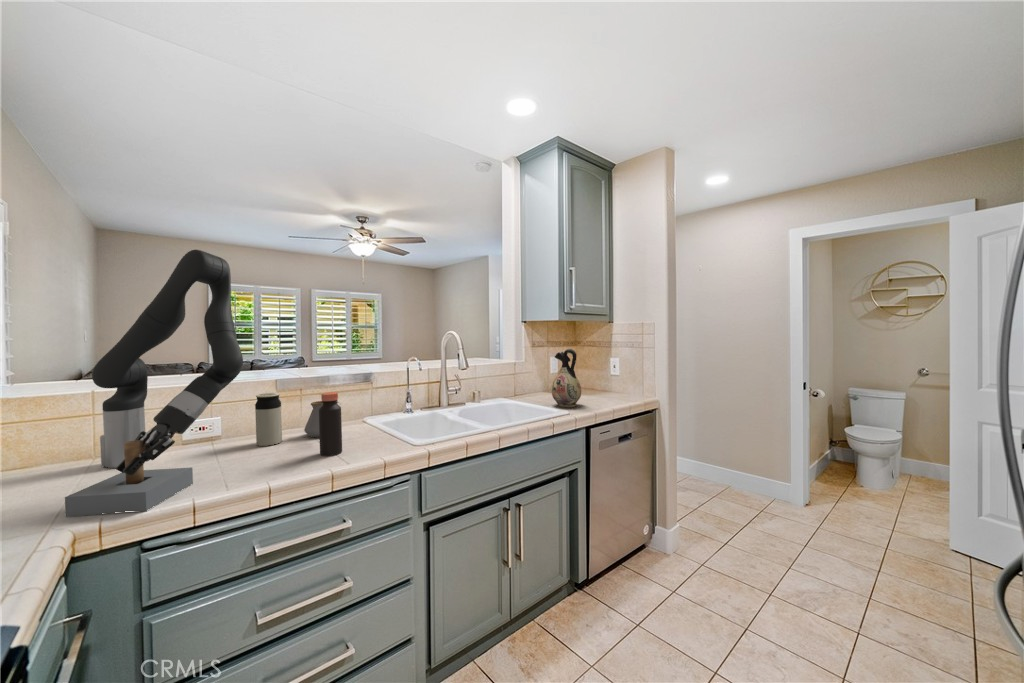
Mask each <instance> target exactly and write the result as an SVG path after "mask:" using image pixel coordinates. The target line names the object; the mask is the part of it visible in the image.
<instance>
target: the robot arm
mask: <svg viewBox="0 0 1024 683" xmlns="http://www.w3.org/2000/svg"><path fill="white" fill-rule="evenodd" d="M231 277H232V275H231V268H230V265H229V263H228V261H227V260H226V259H224V258H223V257H220V256H217V255H215V254H211V253H209V252H207V251H204V250H201V249H191V250H190V251H189V250H188V251H187V252H186V253H185V254H184V255H183V256H182V257H181V259H180V260H179V262H178V263H177V265H176V266H175V268H174V269H173V271H172V273H171V274H170V276H169V277H168V279H167V281H166V283H165V284H164V285H163V286H162V288H161V289H160V290H159V291H158V293H157V295H156V296H155V297H154V298H153V299H152V301H151V302H150V303H149V305H147V306H146V308H144V310H143V311H142V313H140V315H139V316H138V317H137V319H136V320H135V322H134V323H133V324H132V325H131V327H130V328H129V329H128V330H127V331H126V332H125V334H124V335H123V336H122V337H121V338H120V340H119V341H118V342H117V343H116V344H115V345H114V346H113V347H111V348H110V350H109V351H108V352H107V353H106V354H104V355H103V356H102V357H101V358H100V359H99V361H97V363H96V364H95V365H94V367H93V369H92V373H91V378H92V381H93V383H94V385H96V386H98V387H99V388H103V389H116V391H115V393H114V394H113V395H112V396H111V397H110V396H109V398H107V399H106V400H104V401H103V402H102V405H101V407H102V422H103V434H102V435H100V436H99V443H100V444H99V445H100V447H99V448H100V462H101V464H100V466H101V468H103V467H102V466H105V467H104V468H107V467H108V468H107V469H115V470H116V471H117V472H120V473H126V474H128V475H133V474H134V473H135V472H136V471H137V470H138V469H139V468H140V467H141V466H142V465H143V466H144V464H145V463H146V462H149V461H155V459H157V458H158V457H160V455H162V454H163V453H164V452H165V451H167V450H168V449H169V448H170V447H171V446H173V445H174V444H175V443H176V441H175V440H174V439H172V438H173V437H174V436H175V434H178V435H183V434H184V433H185V432H186V431H187V430H188V429H189V428H190V426H192V425H193V424H194V423H195V421H196V420H197V419H198V418H199V417H200V416H201V415H202V414H203V412H205V410H206V409H207V407H208V406H209V405H210V404H211V402H213V401H214V399H215V398H216V397H217V396H218V395H219V394H220V393H221V391H222V390H223V389H224V388H226V387H227V386H228V385H229V384H230V383H231V382H233V381H234V380H235V379H236V378H237V376H238V375H239V374H241V371H242V368H243V365H244V359H243V354H242V350H241V347H240V344H239V342H238V338H237V332H236V326H235V323H234V318H233V313H232V280H231ZM196 282H198V283H202V284H206V285H208V287H209V289H210V292H211V300H210V301H211V302H210V303H209V306H208V308H207V310H206V311H205V314H204V318H203V319H204V321H203V323H204V329H205V335H206V339H207V341H208V344H209V346H210V349H211V350H210V351H211V355H212V356H211V357H212V364H211V366H210V367H209V368H208V369H207V370H205V372H203V374H202V375H199V376H198V377H196V378H195V379H193V380H192V381H191V382H190V383H189V384H188V385H187V386H186V387H184V388H183V389H182V391H181V392H179V393H178V394H177V395H176V396H174V397H173V398H172V399H171V400H170V401H169V402H168V403H167V404H166V405H165V406H164V407H163V408H162V409H161V410H160V411H159V412H158V413H157V414H156V415H155V416H154V417H153V422H154V423H156V424H155V425H154V426H153V427H151V428H150V429H149V430H147V431H146V416H145V415H146V414H145V401H146V400H147V397H148V379H149V378H148V369H147V365H146V363H145V362H144V360H143V359H141V357H142V356H143V355H145V354H146V353H147V352H149V351H151V350H152V349H154V348H156V347H157V346H159V345H160V344H162V343H163V342H165V341H167V340H168V339H169V338H171V337H172V336H173V334H174V333H175V332H176V331H177V330H178V329H179V327H180V326H181V325H182V324H183V323H184V320H185V318H186V295H187V293H188V292H189V290H190V289H191V287H192V286H193V285H194V284H195V283H196ZM134 440H142V450H141V452H140V453H139V454H138V455H137V457H138V458H137V457H135V458H134V459H133V460H132V461H131V462H130V463H129V464H128V465H127V466H126V467H125V456H124V443H125V442H128V441H134Z"/></svg>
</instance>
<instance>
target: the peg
mask: <svg viewBox="0 0 1024 683" xmlns="http://www.w3.org/2000/svg"><path fill="white" fill-rule="evenodd" d="M141 450H142V440H134V441H128V442H125V443H124V456H125V467H126V466H127V465H128V464H129V463H130V462H131V461H132V460H133V459H134V458H135V457H137V455H138V454H139V453H140V452H141ZM137 458H138V457H137ZM144 470H145V469H144V464H143V465H142V466H141V467H140V468H139V469H138V470H137V471H136V472H135V473H134V474H133V475H128V474H126V473H125V474H126V485H130V484H139V483H141V482H143V481H144Z"/></svg>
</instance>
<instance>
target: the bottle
mask: <svg viewBox="0 0 1024 683" xmlns="http://www.w3.org/2000/svg"><path fill="white" fill-rule="evenodd" d="M338 394H339V393H338V392H336V391H335V392H333V391H332V392H324V393H323V392H322V393H321V401H322V402H323V405H322V406H321V407H320V409H319V437H318V439H319V455H321V456H323V457H331V456H337V455H339V453H340V454H341V453H342V452H343V432H342V427H343V426H342V425H343V424H342V406H341V405H340V404H339V403H337V401H338V400H339V398H338V397H339V396H338ZM338 402H339V401H338Z"/></svg>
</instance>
